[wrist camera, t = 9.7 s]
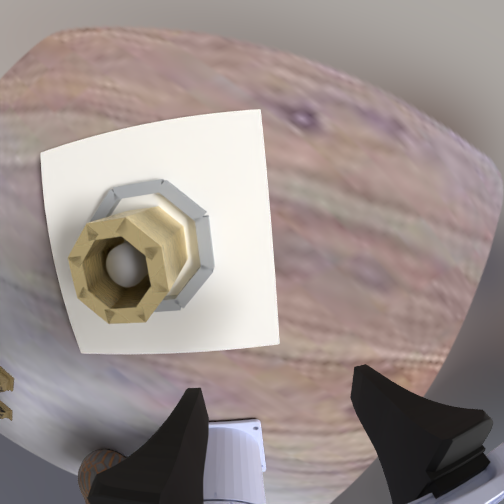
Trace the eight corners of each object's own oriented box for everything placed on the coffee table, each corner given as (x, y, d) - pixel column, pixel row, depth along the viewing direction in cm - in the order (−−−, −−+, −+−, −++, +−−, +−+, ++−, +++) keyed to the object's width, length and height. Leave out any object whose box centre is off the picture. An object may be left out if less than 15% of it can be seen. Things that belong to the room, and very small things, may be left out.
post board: (276, 334, 22) (290, 381, 16) (88, 344, 21) (57, 384, 15) (258, 114, 18) (269, 87, 12) (51, 153, 17) (2, 149, 12)
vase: (94, 433, 24) (70, 490, 15) (149, 460, 25) (136, 519, 17) (84, 455, 25) (64, 504, 16) (132, 479, 26) (120, 530, 18)
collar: (191, 279, 19) (175, 320, 13) (122, 286, 19) (85, 324, 13) (181, 203, 18) (156, 212, 12) (109, 213, 17) (61, 227, 12)
